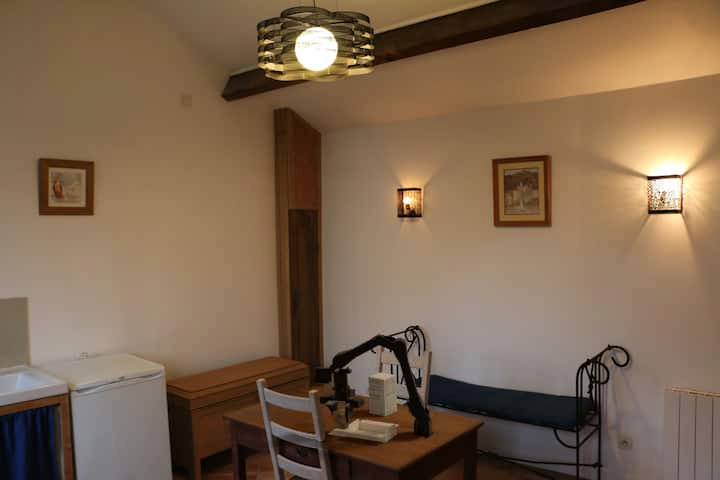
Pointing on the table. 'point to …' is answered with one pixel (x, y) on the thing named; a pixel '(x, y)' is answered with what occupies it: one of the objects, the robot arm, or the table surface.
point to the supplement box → (382, 394)
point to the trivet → (338, 432)
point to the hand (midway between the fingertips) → (342, 421)
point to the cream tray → (372, 430)
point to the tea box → (340, 419)
